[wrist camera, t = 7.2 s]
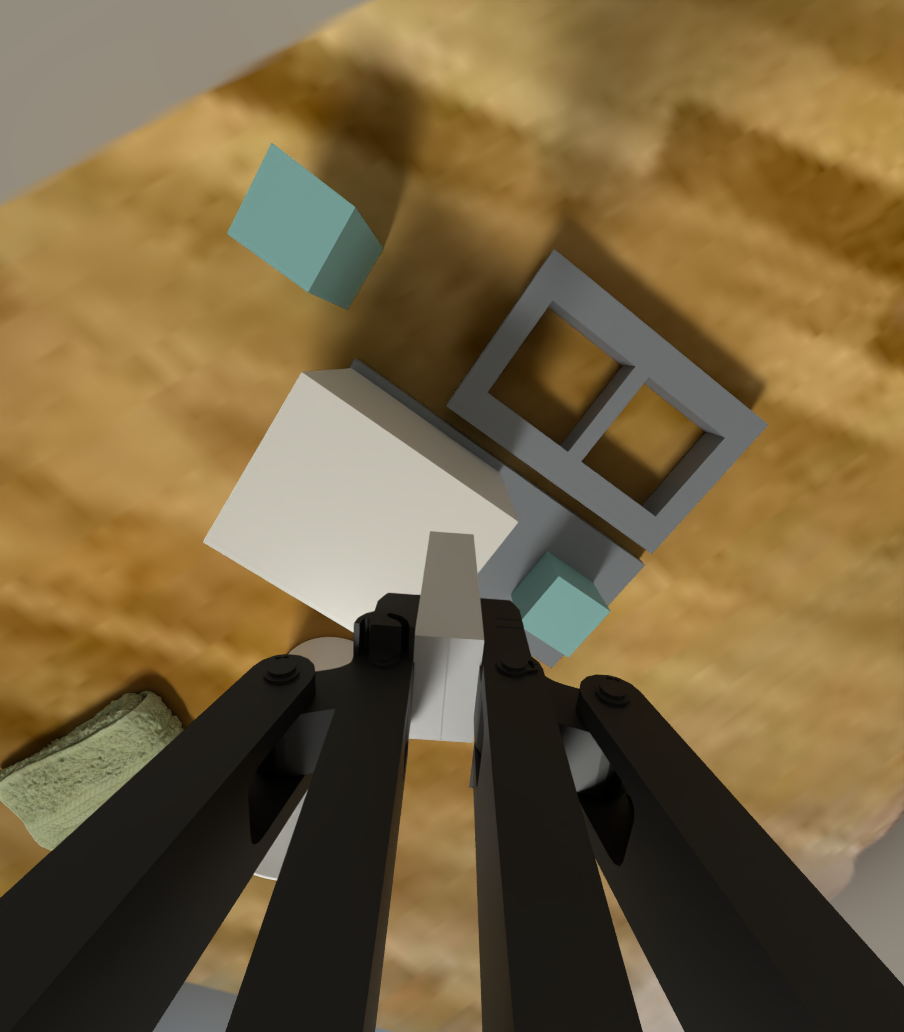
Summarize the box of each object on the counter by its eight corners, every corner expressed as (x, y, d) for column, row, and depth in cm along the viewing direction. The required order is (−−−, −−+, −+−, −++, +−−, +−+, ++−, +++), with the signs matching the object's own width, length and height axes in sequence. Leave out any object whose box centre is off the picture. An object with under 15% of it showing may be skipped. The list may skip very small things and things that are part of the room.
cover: (278, 488, 31) (202, 542, 22) (351, 368, 29) (301, 372, 20) (420, 579, 33) (405, 664, 24) (500, 473, 31) (518, 521, 21)
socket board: (447, 402, 31) (446, 406, 28) (546, 257, 28) (554, 249, 26) (638, 540, 33) (651, 553, 31) (745, 419, 31) (768, 424, 28)
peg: (289, 267, 28) (227, 233, 21) (323, 203, 27) (271, 142, 20) (347, 309, 29) (308, 292, 21) (383, 248, 28) (355, 207, 20)
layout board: (279, 487, 32) (248, 509, 28) (358, 358, 30) (339, 358, 25) (549, 660, 36) (562, 705, 32) (639, 559, 34) (669, 592, 29)
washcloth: (-4, 766, 41) (-41, 799, 38) (152, 673, 38) (125, 700, 35) (107, 863, 44) (80, 901, 41) (258, 785, 41) (242, 820, 38)
